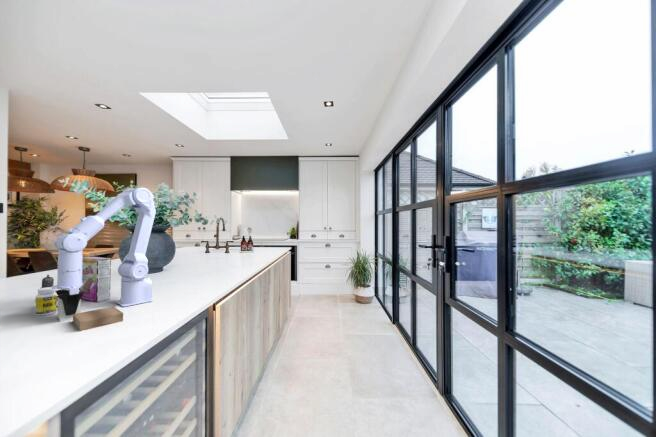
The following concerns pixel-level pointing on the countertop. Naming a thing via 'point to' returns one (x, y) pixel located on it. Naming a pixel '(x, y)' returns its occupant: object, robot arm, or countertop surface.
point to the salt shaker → (48, 284)
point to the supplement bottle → (45, 301)
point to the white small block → (61, 311)
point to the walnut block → (97, 318)
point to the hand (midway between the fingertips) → (69, 312)
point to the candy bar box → (96, 279)
